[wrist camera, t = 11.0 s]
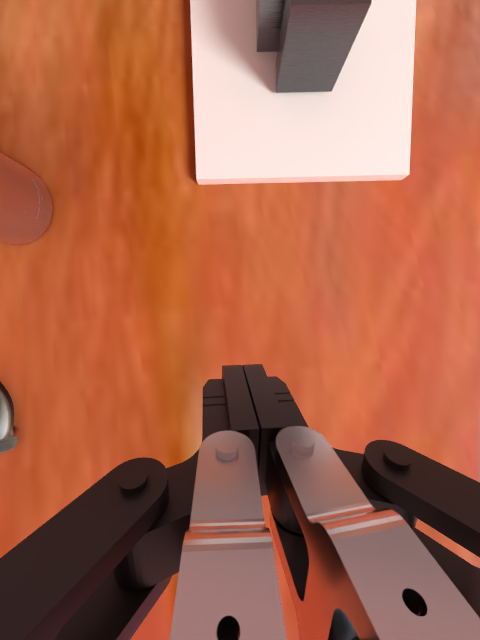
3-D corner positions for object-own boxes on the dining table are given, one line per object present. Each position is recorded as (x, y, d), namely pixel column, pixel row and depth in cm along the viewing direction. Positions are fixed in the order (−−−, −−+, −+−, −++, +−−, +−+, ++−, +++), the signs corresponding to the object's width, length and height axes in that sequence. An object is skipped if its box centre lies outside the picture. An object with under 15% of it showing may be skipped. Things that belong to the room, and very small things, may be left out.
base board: (198, 184, 32) (196, 179, 31) (190, -44, 30) (187, -62, 28) (401, 179, 32) (409, 174, 31) (409, -50, 30) (418, -68, 28)
